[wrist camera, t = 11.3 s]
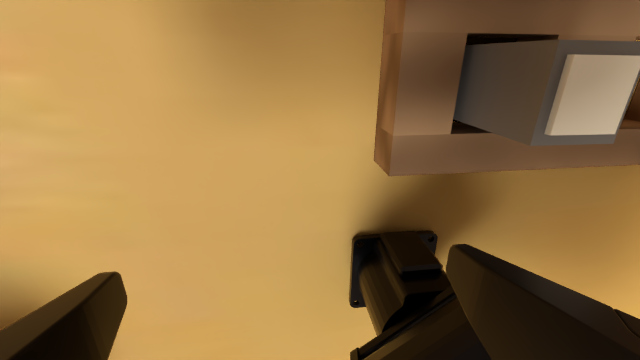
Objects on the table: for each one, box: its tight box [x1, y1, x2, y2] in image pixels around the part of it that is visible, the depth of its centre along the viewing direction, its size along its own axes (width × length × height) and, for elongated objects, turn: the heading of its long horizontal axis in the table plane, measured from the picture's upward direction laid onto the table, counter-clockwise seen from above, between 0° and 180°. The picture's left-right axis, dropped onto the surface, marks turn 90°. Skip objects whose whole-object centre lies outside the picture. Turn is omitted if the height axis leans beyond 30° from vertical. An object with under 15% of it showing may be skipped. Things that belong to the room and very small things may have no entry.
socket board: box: [374, 0, 640, 176], centre depth 18 cm, size 14×22×4 cm, turn 90°
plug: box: [453, 39, 640, 146], centre depth 16 cm, size 4×4×8 cm
